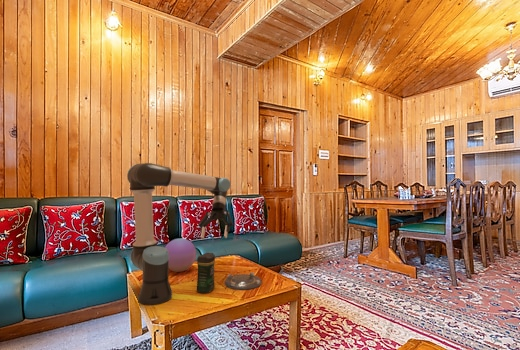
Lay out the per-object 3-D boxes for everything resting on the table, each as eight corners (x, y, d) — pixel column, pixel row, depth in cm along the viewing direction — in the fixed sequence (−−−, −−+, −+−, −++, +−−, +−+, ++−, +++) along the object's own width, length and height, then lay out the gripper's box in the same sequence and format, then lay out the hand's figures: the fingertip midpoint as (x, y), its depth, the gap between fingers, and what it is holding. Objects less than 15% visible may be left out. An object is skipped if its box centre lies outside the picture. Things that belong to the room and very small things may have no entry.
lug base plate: (217, 285, 153) (217, 279, 153) (238, 274, 170) (238, 269, 170) (248, 292, 143) (248, 286, 143) (267, 280, 160) (267, 275, 160)
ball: (171, 265, 188) (171, 234, 188) (200, 267, 185) (201, 236, 185) (156, 275, 168) (156, 241, 168) (188, 277, 165) (188, 242, 165)
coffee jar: (208, 294, 141) (209, 256, 141) (194, 292, 143) (194, 255, 143) (216, 287, 150) (217, 252, 150) (203, 285, 152) (203, 250, 153)
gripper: (240, 206, 171) (237, 239, 158) (201, 209, 176) (195, 241, 163) (237, 200, 166) (233, 233, 152) (197, 203, 170) (190, 235, 157)
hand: (213, 237), depth 158 cm, fingers open, 13 cm apart
